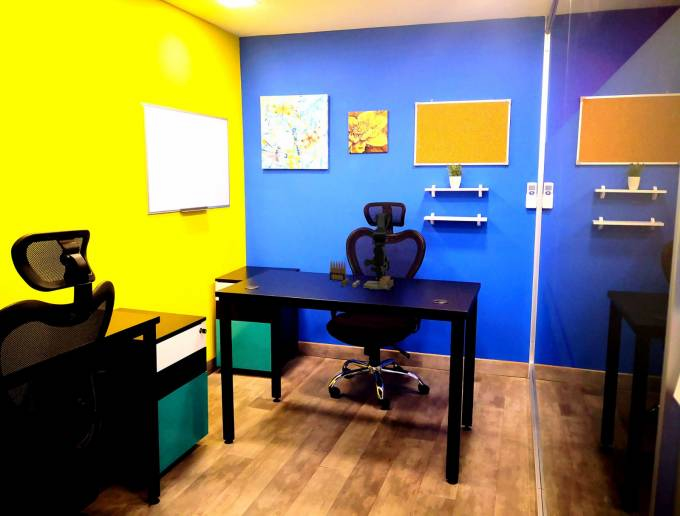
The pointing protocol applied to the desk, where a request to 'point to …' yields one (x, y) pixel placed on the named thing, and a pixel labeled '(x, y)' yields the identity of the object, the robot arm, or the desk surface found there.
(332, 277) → the ammunition clip
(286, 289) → the desk surface
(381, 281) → the block
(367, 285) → the trap board
